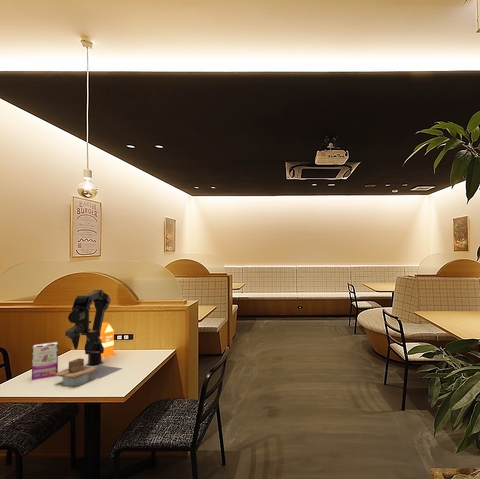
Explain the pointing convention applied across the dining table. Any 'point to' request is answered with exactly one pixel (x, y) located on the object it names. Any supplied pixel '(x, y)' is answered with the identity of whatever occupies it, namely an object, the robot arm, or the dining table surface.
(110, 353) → the orange juice
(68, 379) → the bowl
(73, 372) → the walnut lid
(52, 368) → the candy bar box
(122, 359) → the dining table surface
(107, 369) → the mat
